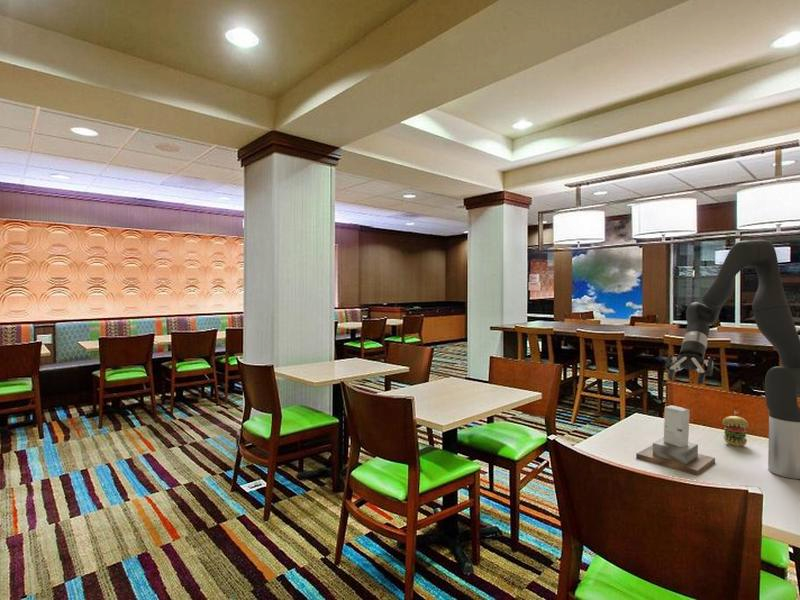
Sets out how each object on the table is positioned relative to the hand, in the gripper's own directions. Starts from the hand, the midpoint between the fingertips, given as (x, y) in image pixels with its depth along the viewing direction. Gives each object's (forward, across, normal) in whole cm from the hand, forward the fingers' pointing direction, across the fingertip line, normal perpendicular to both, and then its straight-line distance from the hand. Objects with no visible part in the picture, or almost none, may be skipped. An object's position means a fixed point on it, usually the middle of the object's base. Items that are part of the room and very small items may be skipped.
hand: (684, 381), depth 156 cm
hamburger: (+4, +11, +31) cm, 33 cm away
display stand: (+26, 0, +8) cm, 27 cm away
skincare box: (+22, +1, +5) cm, 23 cm away
